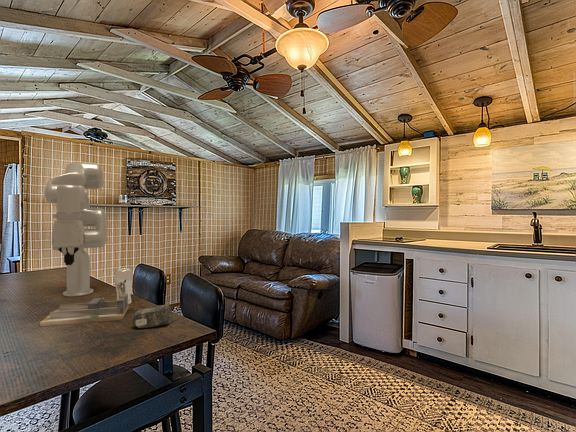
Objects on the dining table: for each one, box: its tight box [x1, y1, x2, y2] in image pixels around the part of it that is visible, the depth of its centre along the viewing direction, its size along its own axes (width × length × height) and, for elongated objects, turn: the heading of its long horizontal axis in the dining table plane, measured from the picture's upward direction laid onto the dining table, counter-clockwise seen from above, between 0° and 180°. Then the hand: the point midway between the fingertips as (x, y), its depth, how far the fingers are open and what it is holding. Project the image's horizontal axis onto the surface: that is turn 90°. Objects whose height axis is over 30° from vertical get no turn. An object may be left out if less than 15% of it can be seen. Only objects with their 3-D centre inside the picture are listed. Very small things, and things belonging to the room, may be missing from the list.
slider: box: [87, 297, 106, 309], centre depth 126 cm, size 12×4×5 cm, turn 17°
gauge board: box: [39, 294, 130, 327], centre depth 127 cm, size 16×26×6 cm, turn 107°
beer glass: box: [114, 267, 134, 305], centre depth 144 cm, size 7×7×15 cm
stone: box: [131, 304, 174, 329], centre depth 118 cm, size 14×7×10 cm, turn 126°
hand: (69, 264), depth 126 cm, fingers closed
